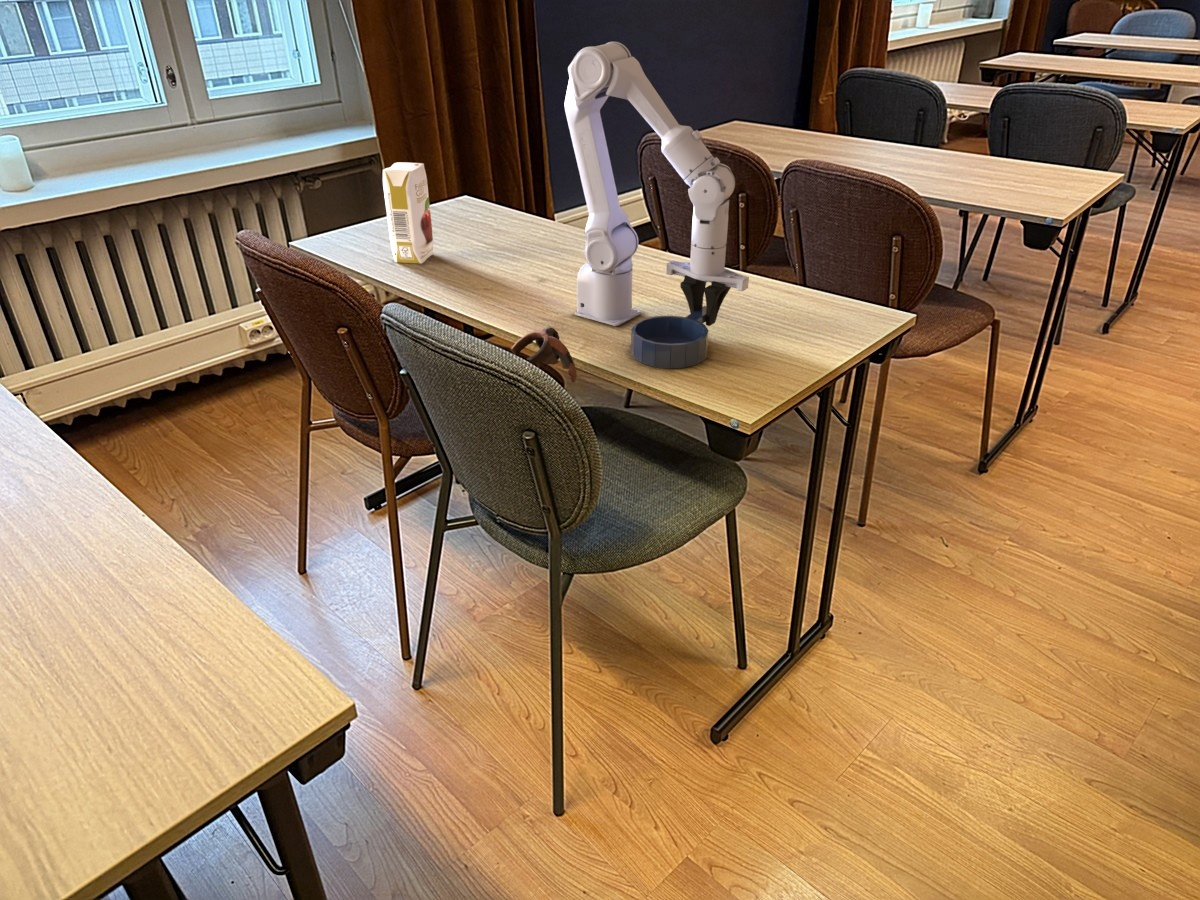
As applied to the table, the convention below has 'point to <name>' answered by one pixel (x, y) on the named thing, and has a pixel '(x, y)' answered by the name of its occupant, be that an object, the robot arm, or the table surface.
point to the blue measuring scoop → (670, 340)
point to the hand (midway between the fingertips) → (703, 322)
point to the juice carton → (408, 212)
